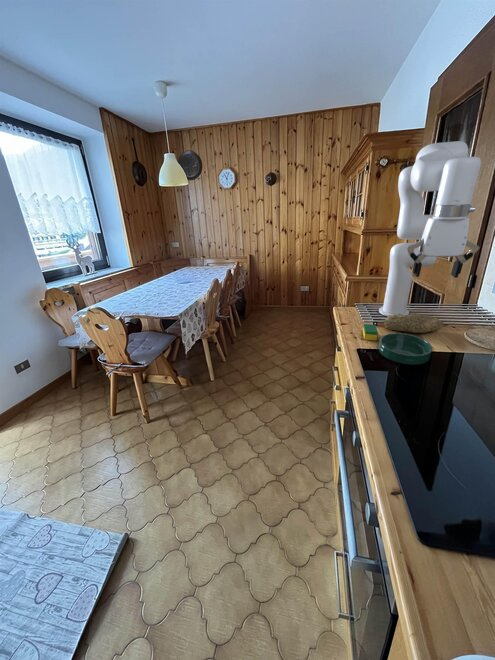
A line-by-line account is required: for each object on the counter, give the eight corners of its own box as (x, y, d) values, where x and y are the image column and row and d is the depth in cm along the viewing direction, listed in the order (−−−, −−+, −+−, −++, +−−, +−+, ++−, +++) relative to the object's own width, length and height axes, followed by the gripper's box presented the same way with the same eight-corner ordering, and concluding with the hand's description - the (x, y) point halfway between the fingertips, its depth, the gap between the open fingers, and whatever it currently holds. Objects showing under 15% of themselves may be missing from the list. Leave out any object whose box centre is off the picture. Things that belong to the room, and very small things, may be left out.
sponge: (383, 335, 116) (442, 336, 104) (383, 316, 114) (442, 315, 102) (389, 328, 126) (444, 329, 114) (389, 311, 125) (444, 309, 113)
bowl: (375, 340, 109) (377, 331, 108) (422, 344, 105) (424, 334, 103) (381, 363, 95) (383, 353, 94) (435, 368, 91) (438, 358, 89)
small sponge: (362, 331, 117) (363, 324, 115) (374, 332, 116) (375, 324, 114) (364, 339, 111) (365, 331, 109) (376, 340, 110) (377, 332, 108)
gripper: (482, 210, 75) (464, 273, 83) (410, 212, 80) (399, 272, 87) (496, 212, 69) (475, 280, 76) (417, 214, 73) (404, 279, 81)
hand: (434, 276), depth 82 cm, fingers open, 9 cm apart
